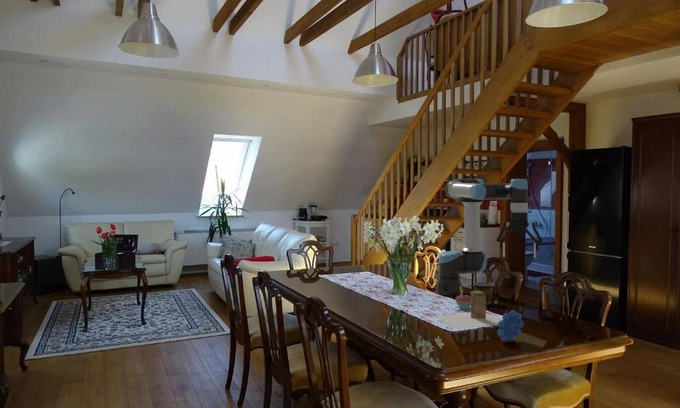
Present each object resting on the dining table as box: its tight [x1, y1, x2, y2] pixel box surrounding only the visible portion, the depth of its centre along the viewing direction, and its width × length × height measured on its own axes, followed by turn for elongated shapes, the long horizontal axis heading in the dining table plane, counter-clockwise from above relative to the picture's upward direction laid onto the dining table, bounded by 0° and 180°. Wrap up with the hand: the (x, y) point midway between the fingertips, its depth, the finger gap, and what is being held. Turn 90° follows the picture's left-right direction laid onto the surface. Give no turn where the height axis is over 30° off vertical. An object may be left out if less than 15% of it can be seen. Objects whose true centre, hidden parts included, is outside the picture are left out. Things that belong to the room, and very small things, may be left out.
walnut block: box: [470, 290, 487, 321], centre depth 216 cm, size 5×4×12 cm
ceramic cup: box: [467, 281, 495, 306], centre depth 248 cm, size 13×10×10 cm
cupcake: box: [454, 286, 471, 310], centre depth 235 cm, size 9×8×12 cm
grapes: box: [496, 310, 525, 342], centre depth 186 cm, size 12×7×12 cm, turn 109°
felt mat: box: [434, 312, 503, 330], centre depth 215 cm, size 20×26×1 cm
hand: (519, 257), depth 225 cm, fingers open, 13 cm apart
